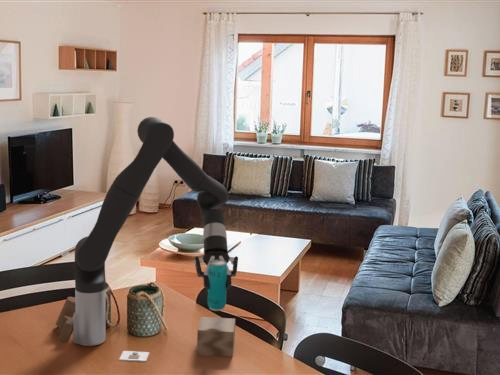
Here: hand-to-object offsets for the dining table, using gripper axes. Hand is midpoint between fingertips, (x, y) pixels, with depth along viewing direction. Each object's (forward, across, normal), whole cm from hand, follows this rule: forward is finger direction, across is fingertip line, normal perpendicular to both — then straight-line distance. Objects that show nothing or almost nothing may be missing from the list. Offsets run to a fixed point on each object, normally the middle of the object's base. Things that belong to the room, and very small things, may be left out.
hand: (217, 288), depth 204 cm
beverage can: (+4, 0, +6) cm, 8 cm away
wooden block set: (+2, -46, +27) cm, 54 cm away
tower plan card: (+17, -25, +12) cm, 32 cm away
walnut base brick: (+13, 0, +15) cm, 20 cm away
